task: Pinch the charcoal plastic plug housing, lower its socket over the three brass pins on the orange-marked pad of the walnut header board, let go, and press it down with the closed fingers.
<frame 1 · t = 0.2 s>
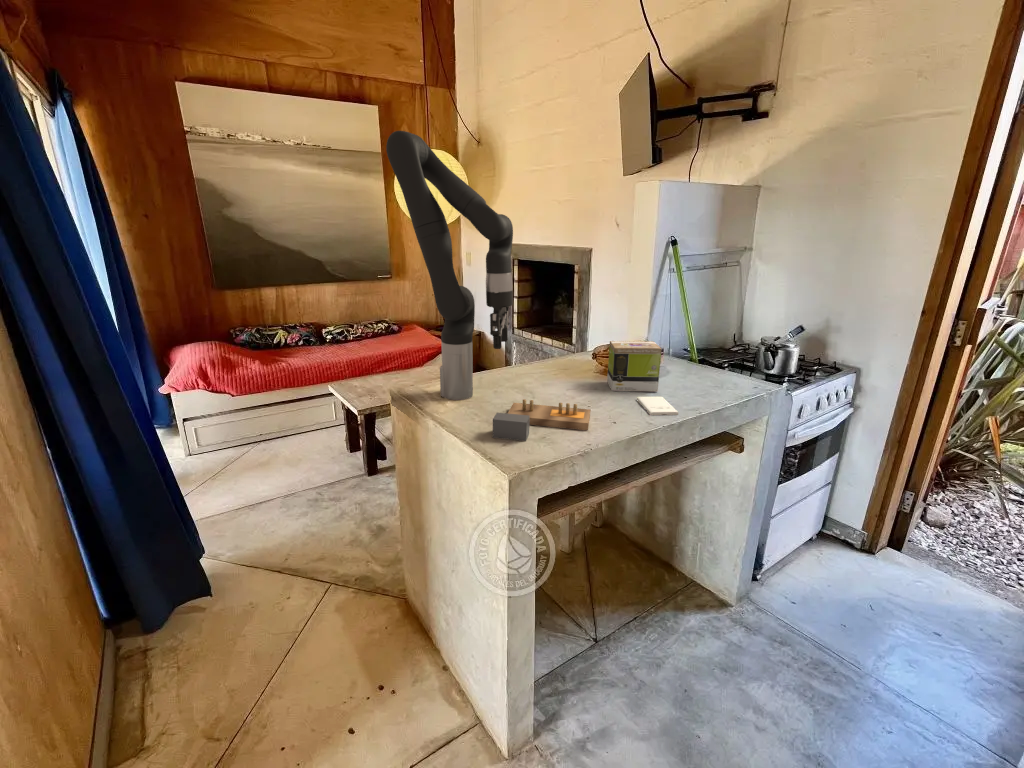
hand: (500, 344, 144), 17 cm above the countertop, tool pointing down, fingers open, 8 cm apart
external hard drive: (656, 409, 146), on the countertop
header board: (548, 419, 136), on the countertop
plug housing: (511, 435, 125), on the countertop
tea box: (631, 387, 163), on the countertop
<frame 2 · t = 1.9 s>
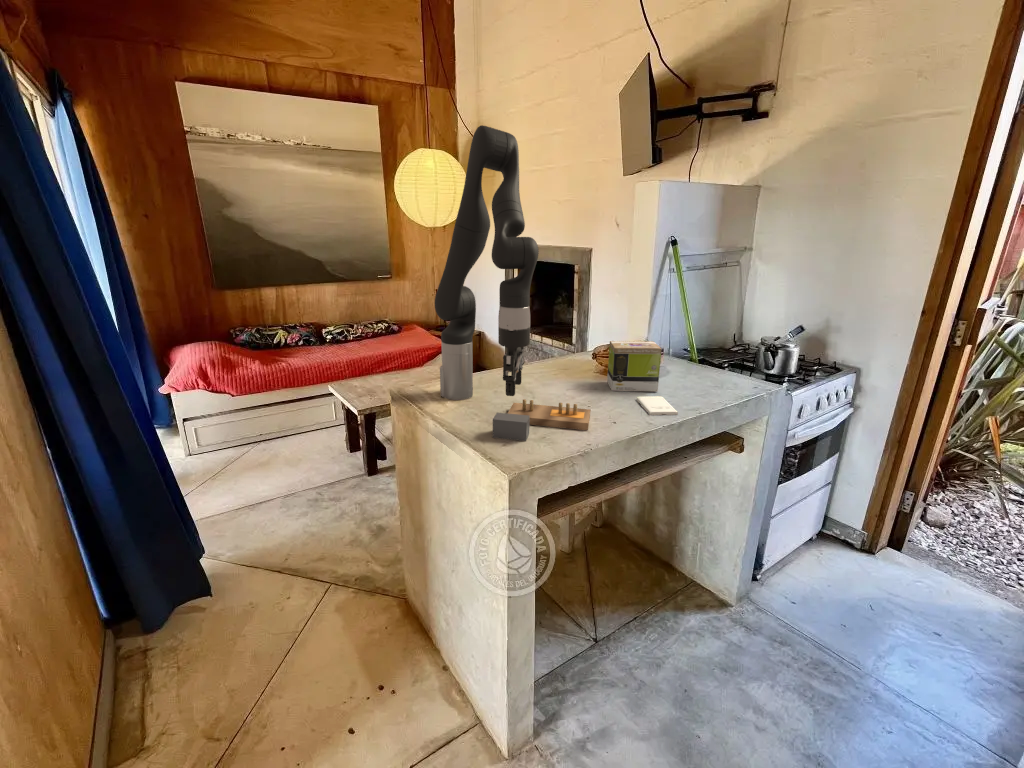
hand: (513, 389, 121), 12 cm above the countertop, tool pointing down, fingers open, 8 cm apart
nothing on the countertop moved.
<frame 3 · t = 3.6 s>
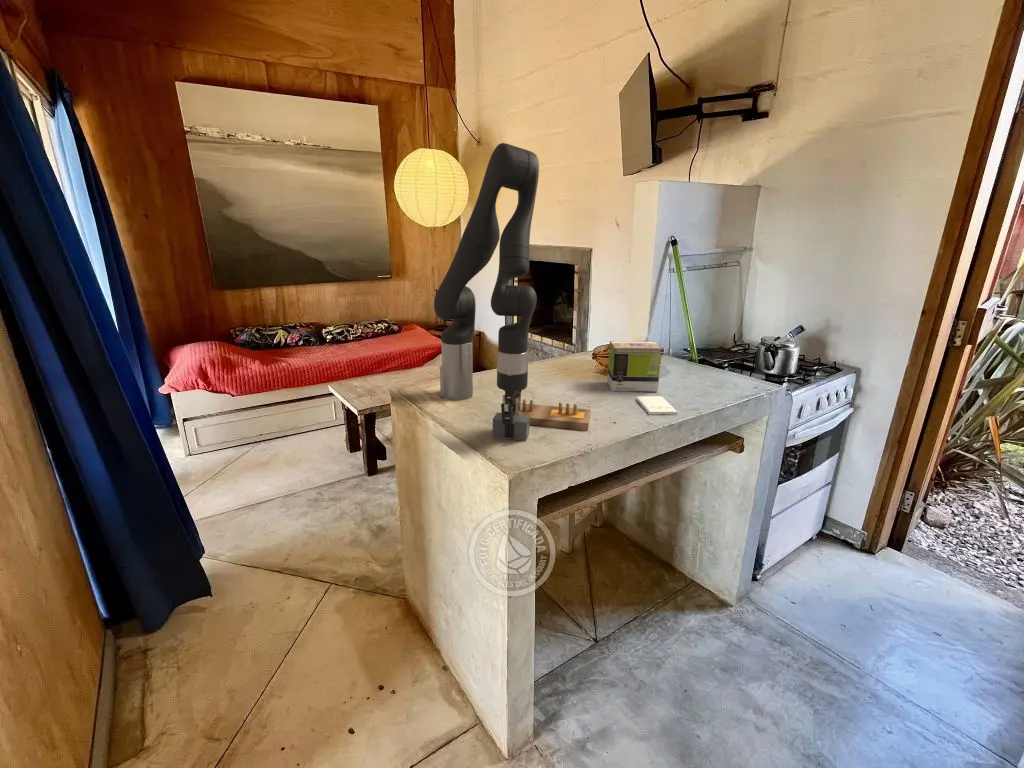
hand: (511, 432, 125), 1 cm above the countertop, tool pointing down, fingers closed on plug housing, 4 cm apart
plug housing: (511, 435, 125), on the countertop, touching gripper
everything else where it was.
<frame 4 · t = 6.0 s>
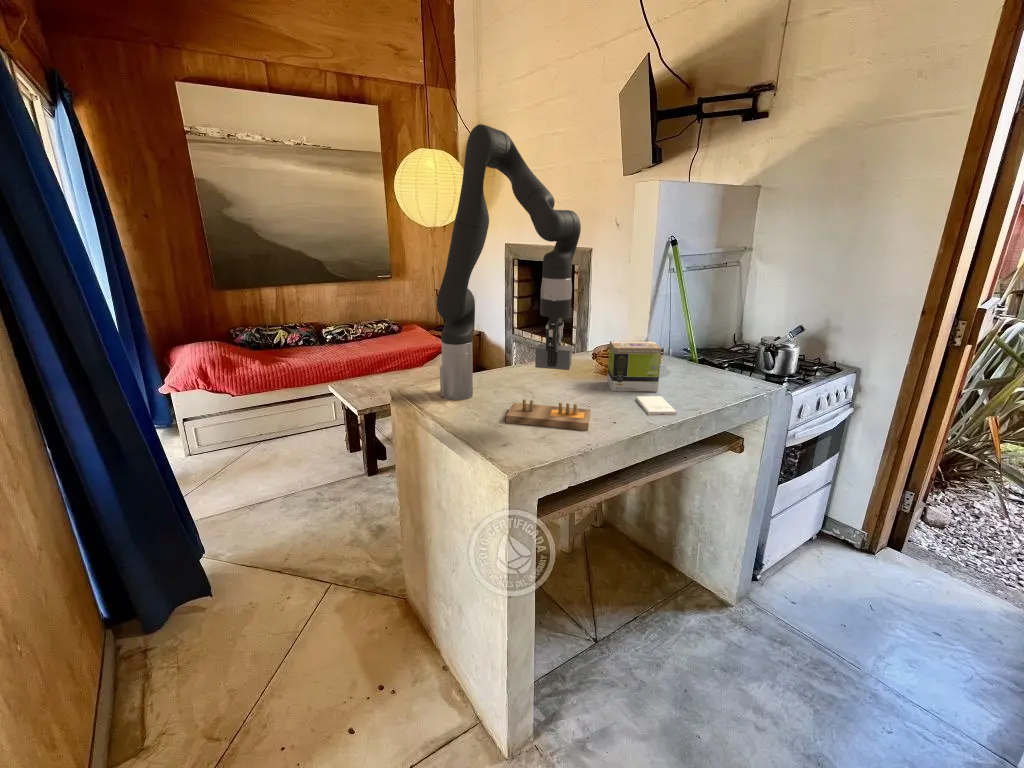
hand: (553, 363, 126), 18 cm above the countertop, tool pointing down, fingers closed on plug housing, 4 cm apart
plug housing: (553, 366, 126), point 17 cm above the countertop, touching gripper
everything else where it was.
when the fingers open (3 cm above the countertop, at t = 8.7 s): plug housing stays where it is, resting on header board.
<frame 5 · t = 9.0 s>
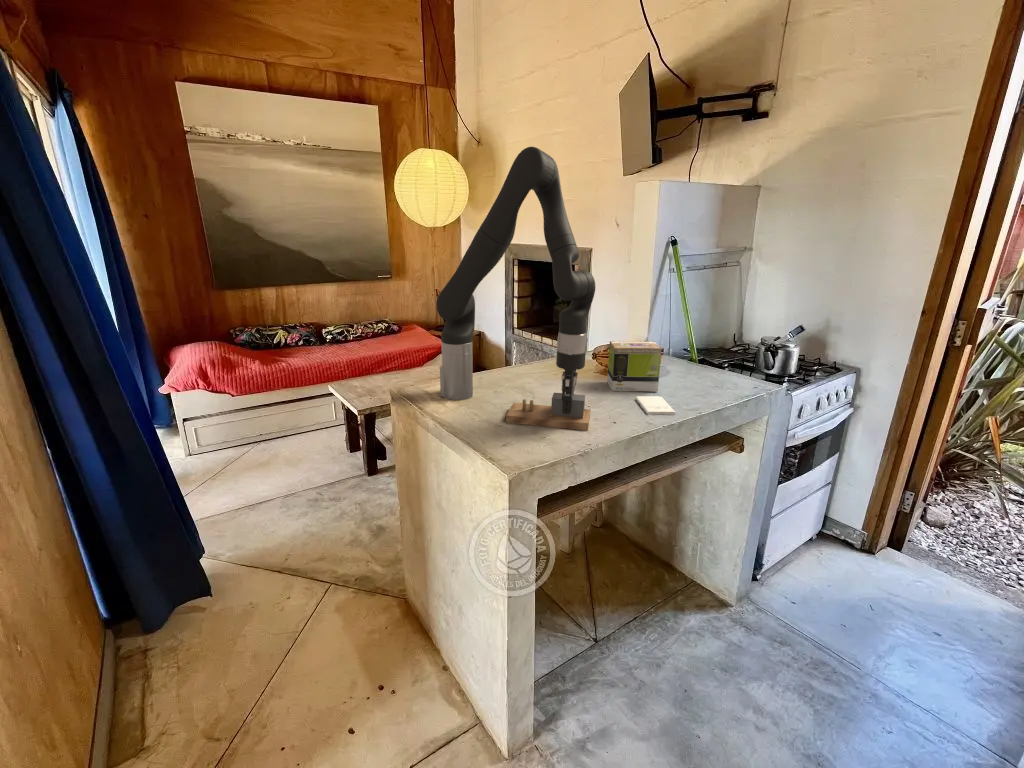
hand: (567, 408, 134), 4 cm above the countertop, tool pointing down, fingers open, 6 cm apart
plug housing: (567, 413, 134), point 2 cm above the countertop, touching header board
everything else where it was.
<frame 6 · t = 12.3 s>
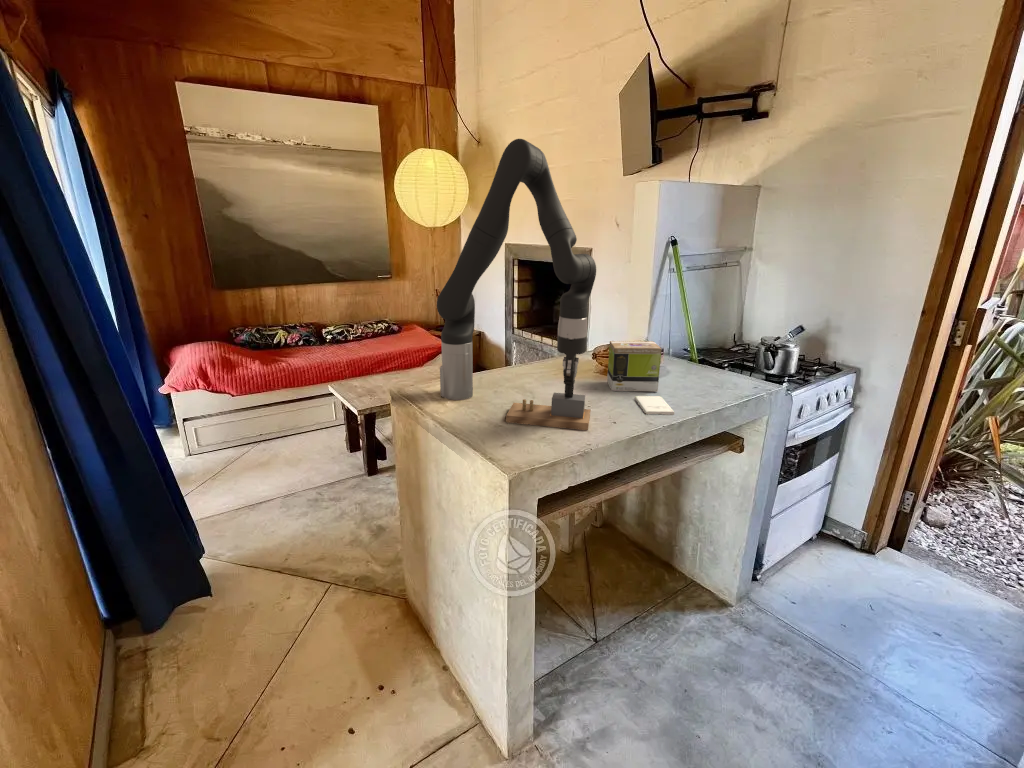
hand: (568, 396, 133), 7 cm above the countertop, tool pointing down, fingers closed
plug housing: (567, 413, 134), point 2 cm above the countertop, touching gripper, header board
everything else where it was.
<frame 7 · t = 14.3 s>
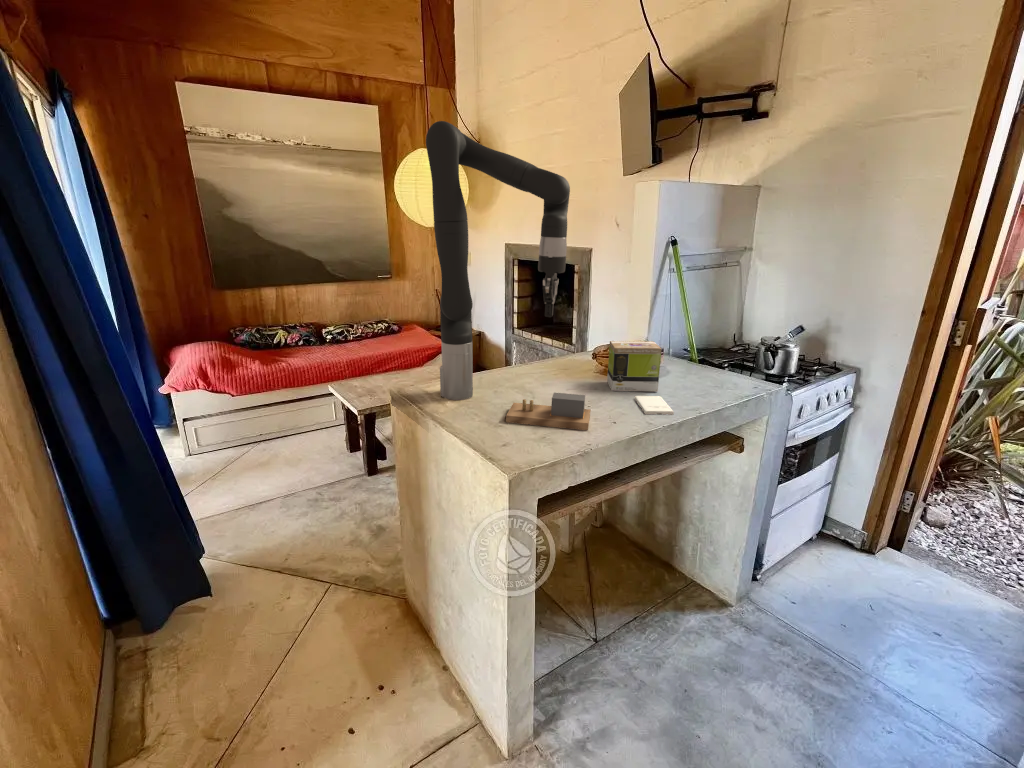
hand: (548, 316, 141), 26 cm above the countertop, tool pointing down, fingers closed
plug housing: (567, 413, 134), point 2 cm above the countertop, touching header board
everything else where it was.
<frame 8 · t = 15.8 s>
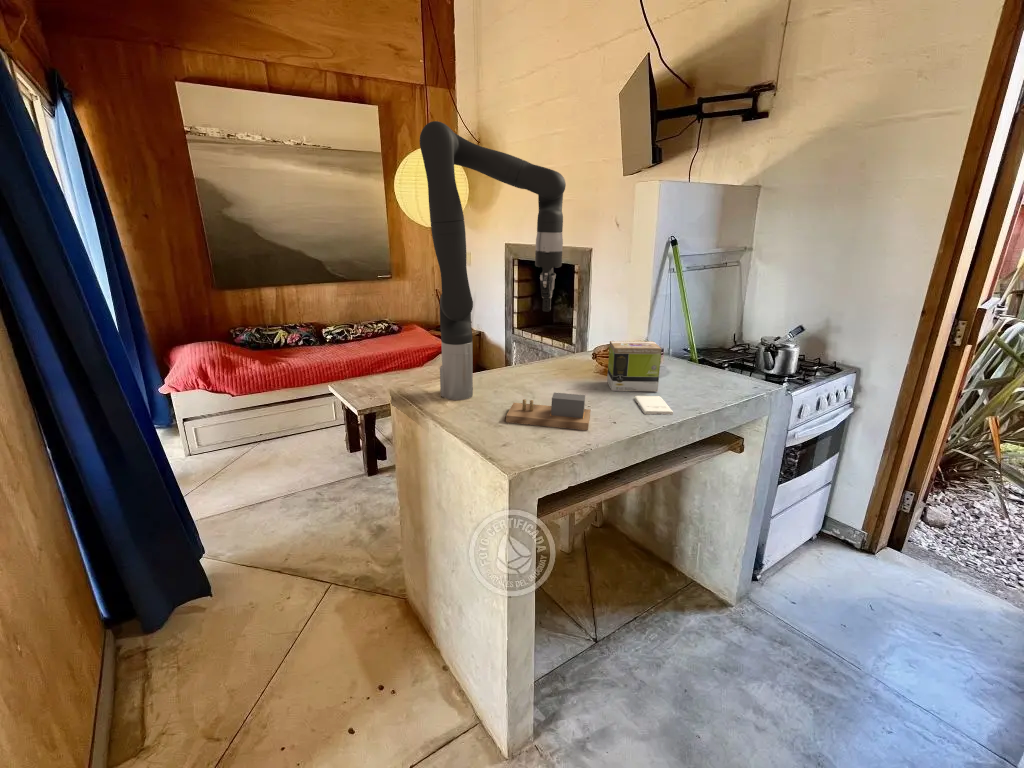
hand: (546, 311, 143), 27 cm above the countertop, tool pointing down, fingers closed
at the end: plug housing 0.1 cm from the target spot on the header board, point 2.1 cm above the header board's base; plug housing tilted 0°; the gripper is holding nothing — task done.
